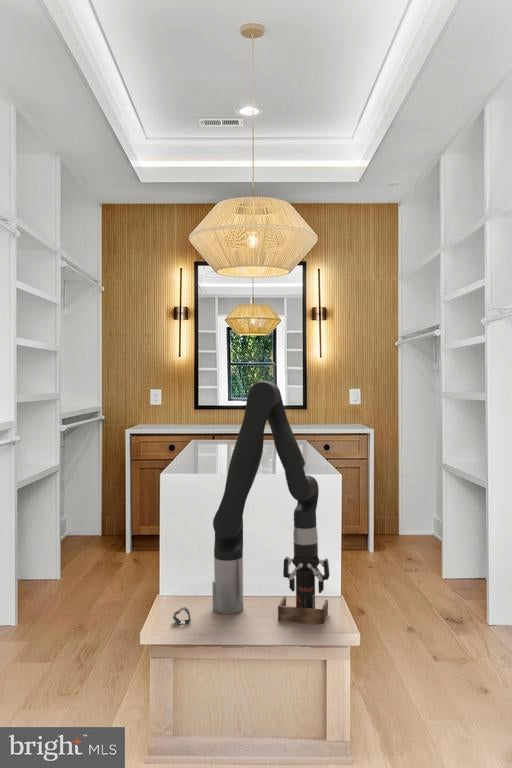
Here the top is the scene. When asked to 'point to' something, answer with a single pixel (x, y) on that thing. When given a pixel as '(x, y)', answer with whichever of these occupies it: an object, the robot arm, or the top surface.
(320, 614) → the wooden u-shaped frame
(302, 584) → the deodorant
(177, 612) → the wristwatch
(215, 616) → the top surface
